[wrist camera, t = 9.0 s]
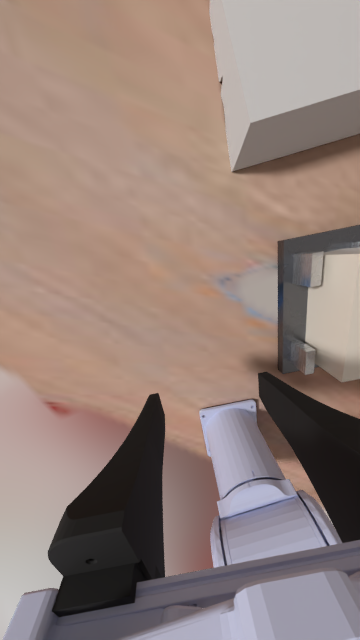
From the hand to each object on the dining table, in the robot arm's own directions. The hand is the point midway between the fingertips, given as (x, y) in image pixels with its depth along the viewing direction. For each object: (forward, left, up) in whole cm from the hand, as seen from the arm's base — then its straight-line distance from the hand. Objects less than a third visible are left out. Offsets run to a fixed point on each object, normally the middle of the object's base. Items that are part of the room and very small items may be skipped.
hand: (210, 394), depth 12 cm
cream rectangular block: (+1, -15, -8) cm, 17 cm away
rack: (+1, -15, -9) cm, 18 cm away
